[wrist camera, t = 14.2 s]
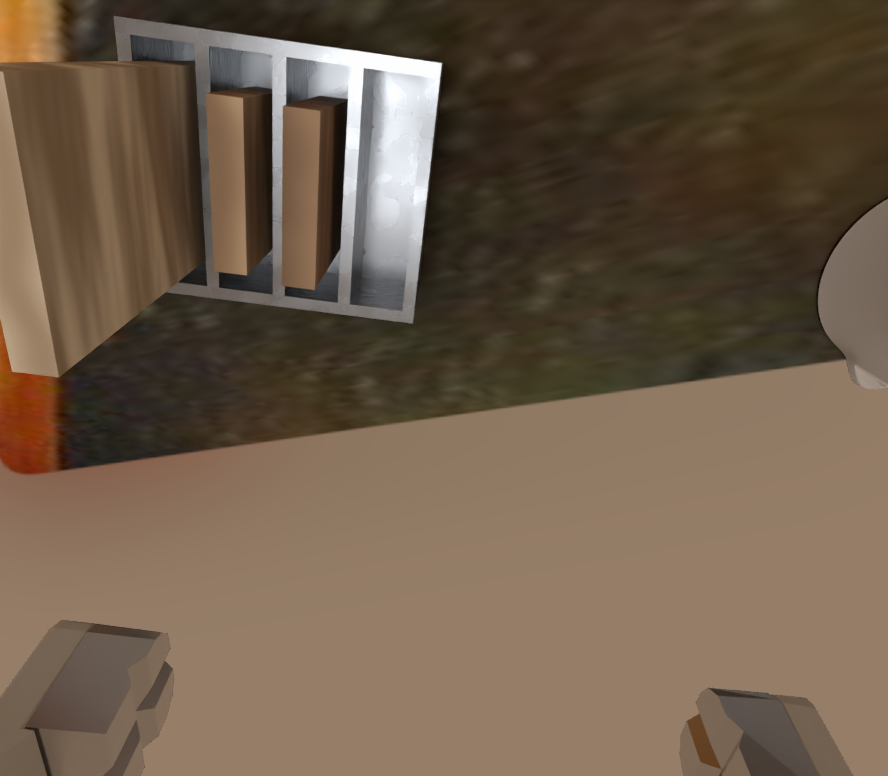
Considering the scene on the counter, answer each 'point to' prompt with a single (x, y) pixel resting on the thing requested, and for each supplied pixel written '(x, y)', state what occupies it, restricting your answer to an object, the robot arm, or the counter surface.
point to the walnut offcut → (312, 188)
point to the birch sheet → (93, 201)
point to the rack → (366, 160)
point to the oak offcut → (240, 177)
